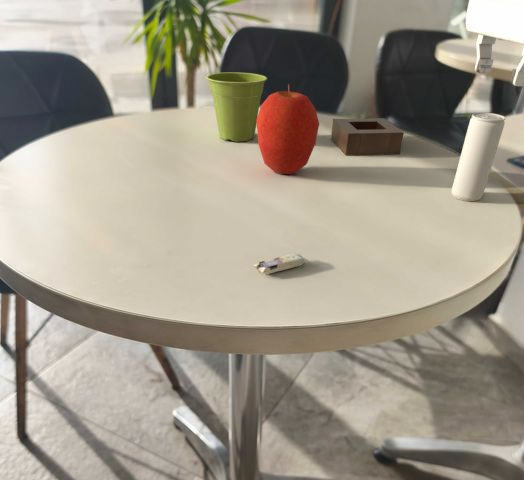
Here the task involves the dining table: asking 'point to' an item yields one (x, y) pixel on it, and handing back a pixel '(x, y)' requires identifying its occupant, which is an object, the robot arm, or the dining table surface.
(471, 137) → the beverage can
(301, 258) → the granola bar
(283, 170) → the apple
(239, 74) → the plant pot
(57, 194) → the dining table surface
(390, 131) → the holder
